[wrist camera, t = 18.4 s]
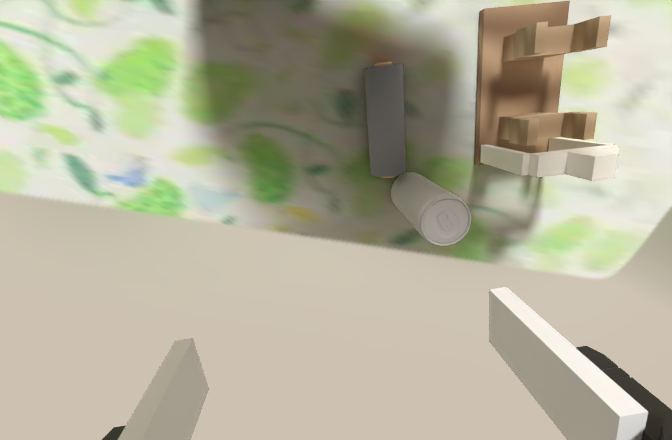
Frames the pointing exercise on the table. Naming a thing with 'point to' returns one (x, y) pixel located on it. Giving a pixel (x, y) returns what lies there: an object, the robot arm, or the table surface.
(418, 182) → the beverage can
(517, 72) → the cradle board
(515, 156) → the white bar frame
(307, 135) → the table surface
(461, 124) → the table surface
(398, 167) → the grey capped cylinder
